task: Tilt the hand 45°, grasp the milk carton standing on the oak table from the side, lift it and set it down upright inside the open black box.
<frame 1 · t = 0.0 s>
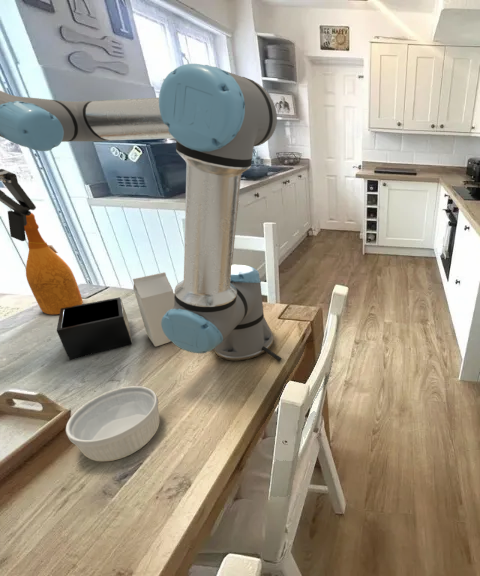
ramekin: (124, 437, 62), on the table
open black box: (102, 340, 88), on the table
milk carton: (166, 337, 92), on the table
wine bottle: (64, 308, 101), on the table
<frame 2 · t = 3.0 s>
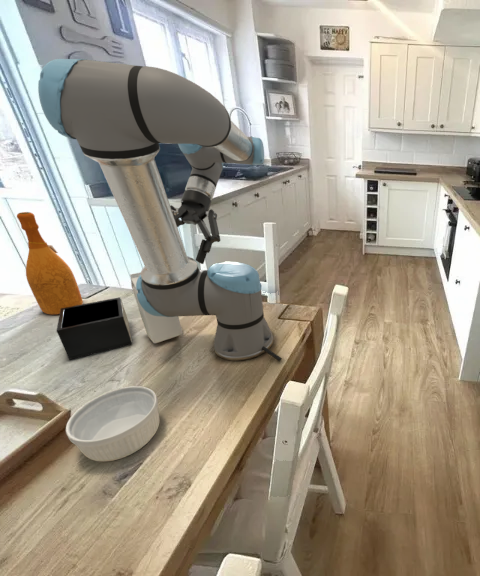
hand: (176, 259, 92), 20 cm above the table, tool tilted 45°, fingers open, 13 cm apart
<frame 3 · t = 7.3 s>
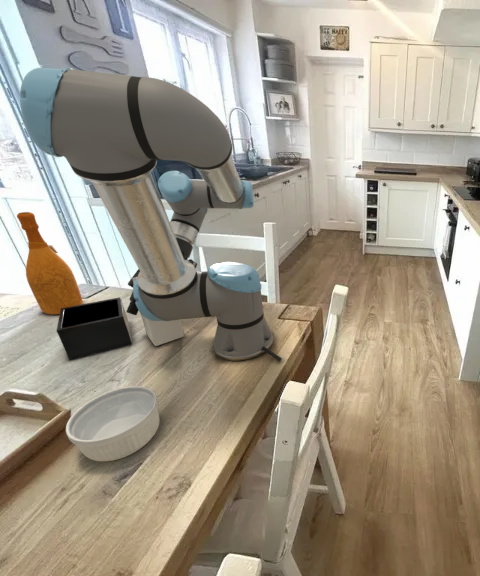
hand: (149, 316, 85), 8 cm above the table, tool tilted 45°, fingers closed on milk carton, 10 cm apart
milk carton: (166, 337, 91), on the table, touching arm, gripper
everything else where it was.
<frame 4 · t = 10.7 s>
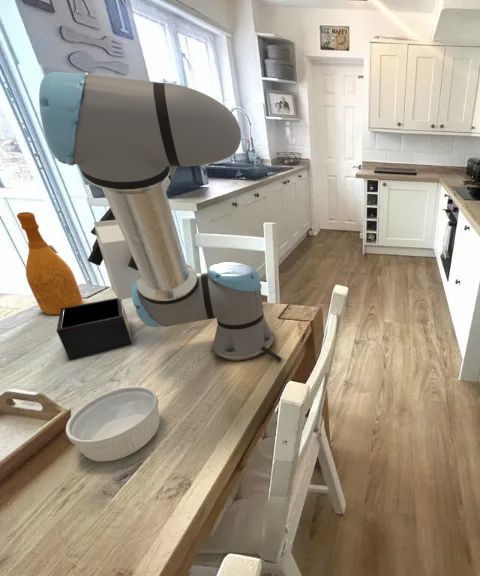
hand: (113, 265, 78), 23 cm above the table, tool tilted 45°, fingers closed on milk carton, 10 cm apart
milk carton: (133, 292, 85), point 14 cm above the table, touching gripper
everything else where it was.
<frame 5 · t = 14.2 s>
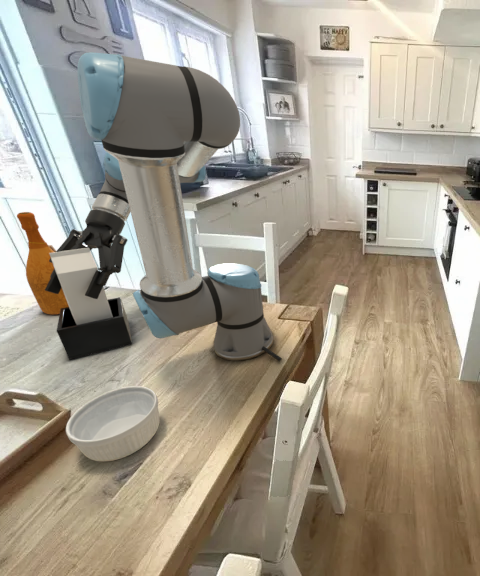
hand: (71, 294, 79), 15 cm above the table, tool tilted 45°, fingers closed on milk carton, 10 cm apart
milk carton: (93, 319, 85), point 7 cm above the table, touching gripper
everything else where it was.
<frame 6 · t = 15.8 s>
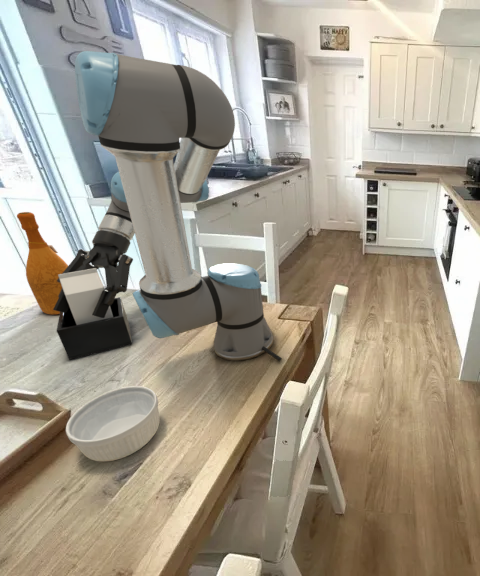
hand: (78, 314, 81), 10 cm above the table, tool tilted 45°, fingers closed on milk carton, 10 cm apart
milk carton: (100, 336, 88), point 1 cm above the table, touching gripper
everything else where it was.
when the fingers open (11 cm above the table, at t = 21.6 s): milk carton drops 1 cm, resting on open black box.
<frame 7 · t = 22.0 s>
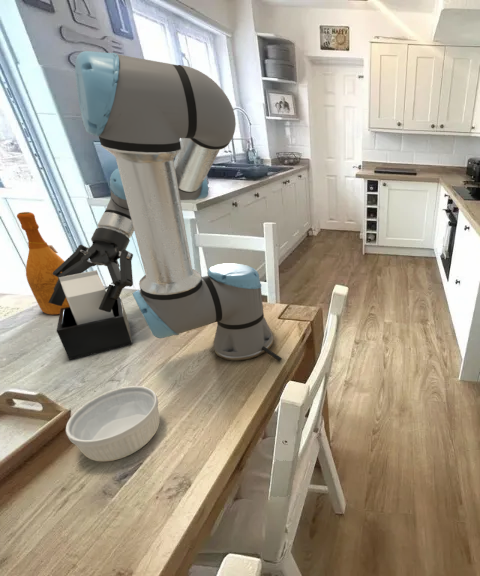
hand: (79, 307, 81), 11 cm above the table, tool tilted 45°, fingers open, 13 cm apart
milk carton: (102, 338, 88), point 1 cm above the table, touching open black box
everything else where it was.
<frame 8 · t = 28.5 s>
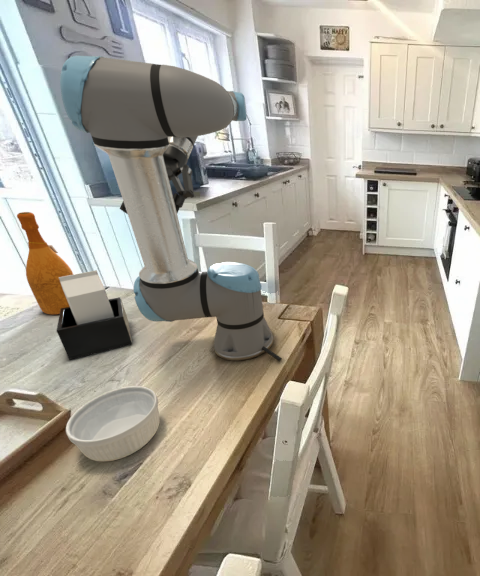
hand: (147, 214, 89), 32 cm above the table, tool tilted 45°, fingers open, 13 cm apart
nothing on the table moved.
at the end: milk carton inside the target area in the open black box (0.3 cm from its centre), point 0.6 cm above the open black box's base; milk carton tilted 0°; the gripper is holding nothing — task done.
